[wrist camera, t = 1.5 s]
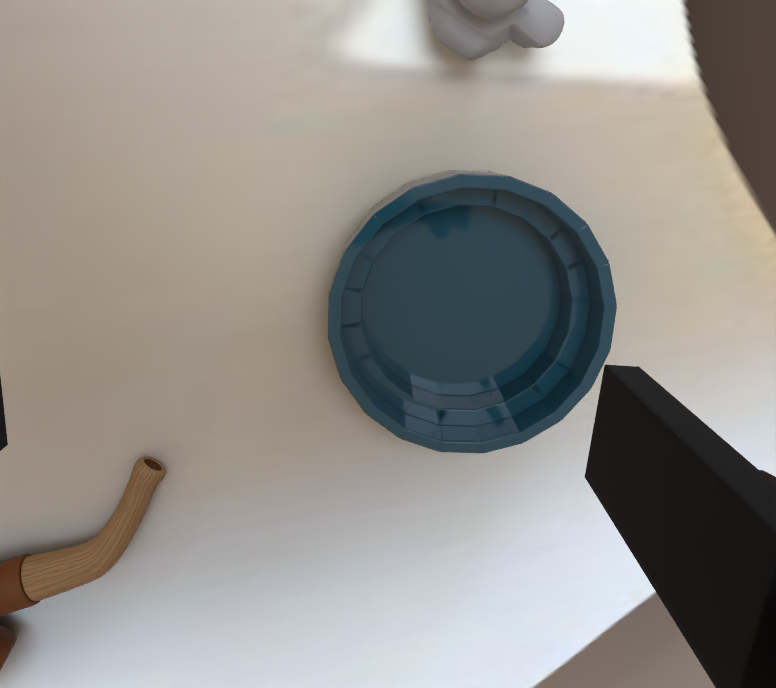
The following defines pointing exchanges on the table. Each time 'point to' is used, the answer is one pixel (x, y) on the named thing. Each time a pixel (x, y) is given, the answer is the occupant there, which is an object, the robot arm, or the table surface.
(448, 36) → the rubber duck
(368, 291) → the bowl
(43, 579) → the pipe
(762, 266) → the table surface
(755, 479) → the robot arm
